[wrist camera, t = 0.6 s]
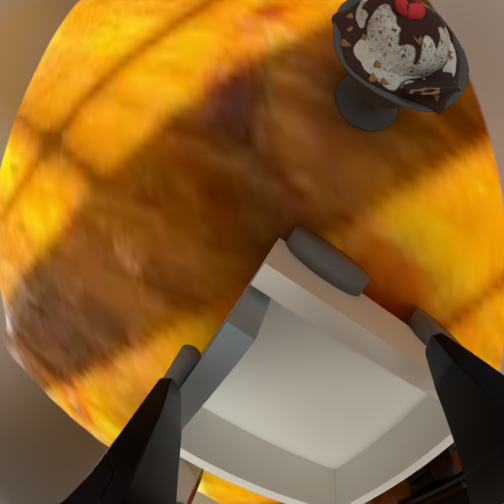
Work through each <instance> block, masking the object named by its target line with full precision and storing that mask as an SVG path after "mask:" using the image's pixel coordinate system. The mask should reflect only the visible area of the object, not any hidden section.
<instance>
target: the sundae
mask: <svg viewBox="0 0 504 504" xmlns="http://www.w3.org/2000/svg"><path fill="white" fill-rule="evenodd" d="M332 23H333V40H334V47H335V50H336V53H337V56H338V58H339V60H340V62H341V63H342V65H343V67H344V68H345V69H346V70H347V71H348V72H349V75H347V76H346V77H344V78H343V79H342V80H341V81H340V82H339V84H338V86H337V89H336V92H335V99H336V105H337V107H338V110H339V112H340V113H341V115H342V116H343V118H344V119H345V120H346V121H347V122H349V123H350V124H351V125H353V126H354V127H356V128H359V129H361V130H364V131H379V130H382V129H385V128H387V127H388V126H389V125H390V124H391V123H392V122H393V121H394V120H395V118H396V116H397V112H398V108H400V107H407V108H410V109H414V110H418V111H422V112H436V113H438V114H441V113H443V112H444V110H445V108H447V107H449V106H450V105H452V104H453V103H454V102H455V101H456V100H457V99H458V98H459V97H460V96H461V94H462V93H463V92H464V90H465V88H466V85H467V82H468V76H469V66H468V62H467V58H466V56H465V53H464V51H463V48H462V47H461V45H460V43H459V41H458V40H457V38H456V37H455V35H454V34H453V32H452V31H451V29H450V27H449V26H448V25H447V23H446V22H445V21H444V20H443V19H442V17H441V16H440V15H439V14H438V13H437V12H435V11H434V10H433V9H432V8H431V7H430V6H428V5H427V4H425V3H423V2H422V1H420V0H347V1H345V2H344V3H343V4H342V5H341V6H340V8H339V9H338V11H337V13H336V14H334V15H333V17H332Z"/></svg>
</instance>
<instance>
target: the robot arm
mask: <svg viewBox="0 0 504 504" xmlns="http://www.w3.org/2000/svg"><path fill="white" fill-rule="evenodd" d="M425 355H426V359H427V362H428V365H429V369H430V372H431V376H432V379H433V383H434V386H435V390H436V393H437V395H438V398H439V401H440V403H441V406H442V409H443V411H444V414H445V417H446V420H447V423H448V425H449V428H450V431H451V434H452V437H453V440H454V442H453V443H452V444H451V445H450V446H449V447H447V448H446V449H445V450H444V451H442V452H441V453H440V454H439V455H437V456H436V457H435V458H433V459H432V460H431V461H430V462H428V463H427V464H426V465H424V466H423V467H421V468H420V469H419V470H417V471H416V472H414V473H413V474H411V475H410V476H408V477H407V478H406V479H407V483H408V485H409V490H410V497H408V498H405V499H401V500H399V501H398V504H503V503H504V375H502V374H501V373H500V372H499V371H497V370H496V369H494V368H493V367H492V366H490V365H489V364H487V363H486V362H484V361H483V360H482V359H480V358H479V357H477V356H476V355H474V354H473V353H471V352H470V351H469V350H467V349H466V348H464V347H463V346H461V345H460V344H458V343H457V342H455V341H454V340H452V339H451V338H449V337H448V336H446V335H445V334H443V333H441V332H439V333H436V334H433V335H431V336H430V339H429V341H428V344H427V347H426V349H425ZM181 437H182V423H181V393H180V390H179V388H178V387H177V385H176V383H175V381H174V380H173V379H172V378H161V379H159V381H158V382H157V383H156V385H155V386H154V387H153V389H152V390H151V392H150V393H149V394H148V396H147V397H146V398H145V400H144V401H143V403H142V404H141V405H140V407H139V408H138V410H137V411H136V412H135V414H134V415H133V416H132V418H131V419H130V421H129V422H128V423H127V425H126V426H125V427H124V429H123V430H122V432H121V433H120V434H119V436H118V437H117V438H116V440H115V441H114V443H113V444H112V445H111V447H110V448H109V449H108V451H107V453H106V454H105V455H104V456H103V458H102V459H101V460H100V462H99V463H98V464H97V466H96V467H95V468H94V469H93V471H92V472H91V473H90V474H89V475H88V476H87V477H86V479H85V480H84V481H83V482H82V483H81V484H80V485H79V486H78V487H77V488H76V489H75V490H74V491H73V492H72V494H70V496H69V497H68V498H66V499H65V500H64V501H63V502H62V503H60V504H176V501H177V486H178V472H179V460H180V448H181ZM455 450H457V453H458V457H459V460H460V464H461V467H462V471H461V472H459V473H457V470H456V467H455V465H454V462H453V459H452V456H451V454H452V453H453V452H454V451H455Z"/></svg>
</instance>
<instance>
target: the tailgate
mask: <svg viewBox="0 0 504 504" xmlns="http://www.w3.org/2000/svg"><path fill="white" fill-rule="evenodd" d="M261 266H262V265H261ZM260 268H261V267H260ZM260 268H259V269H260ZM258 271H259V270H258ZM258 271H257V273H258ZM257 273H256V274H257ZM256 274H255V276H256ZM255 276H254V277H253V279H254V278H255ZM253 279H252V280H251V282H250V283H249V285H248V286H247V288H246V289H245V291H244V292H243V294H242V295H241V297H240V298H239V300H238V301H237V303H236V304H235V306H234V307H233V309H232V310H231V312H230V313H229V315H228V316H227V318H226V319H225V321H224V322H223V324H222V325H221V326H220V328H219V329H218V331H217V332H216V334H215V335H214V337H213V338H212V340H211V341H210V343H209V344H208V346H207V347H206V349H205V350H204V352H203V353H202V354H201V353H200V352H199V350H198V349H197V348H195V347H194V346H191V345H184V346H182V348H181V350H180V351H179V353H178V355H177V356H176V358H175V359H174V361H173V363H172V364H171V366H170V368H169V369H168V371H167V372H166V374H165V376H164V377H163V378H172V379H173V380H174V381H175V383H176V385H177V387H178V388H179V390H180V393H181V423H182V429H183V428H184V427H185V426H186V425H187V423H188V422H189V421H190V420H191V419H192V418H193V416H194V415H195V414H196V413H197V412H198V411H199V409H200V408H201V407H202V406H203V405H204V403H205V402H206V401H207V400H208V399H209V397H210V396H211V395H212V394H213V393H214V391H215V390H216V389H217V388H218V387H219V385H220V384H221V383H222V382H223V380H224V379H225V378H226V377H227V376H228V374H229V373H230V372H231V371H232V369H233V368H234V367H235V366H236V364H237V363H238V362H239V361H240V359H241V358H242V357H243V355H244V354H245V353H246V352H247V350H248V349H249V348H250V347H251V345H252V344H253V343H254V341H255V340H256V338H257V335H258V332H259V329H260V327H261V324H262V321H263V318H264V316H265V313H266V310H267V307H268V304H269V302H270V299H271V298H270V297H269V296H267V295H266V294H264V293H263V292H261V291H260V290H258V289H257V288H255V287H254V286H252V285H250V284H251V283H252V281H253Z"/></svg>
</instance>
